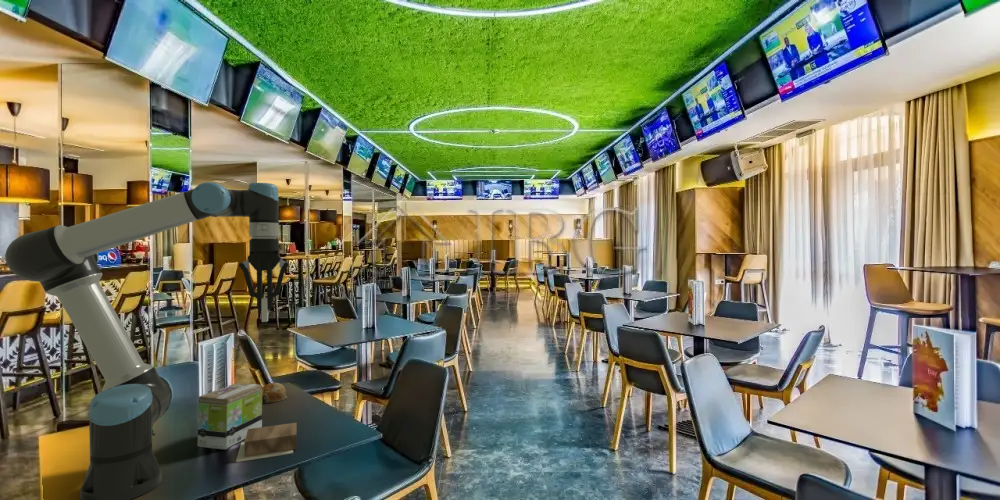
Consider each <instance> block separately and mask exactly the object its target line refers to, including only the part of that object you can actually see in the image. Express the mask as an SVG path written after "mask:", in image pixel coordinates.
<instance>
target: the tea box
mask: <svg viewBox="0 0 1000 500" xmlns="http://www.w3.org/2000/svg"><path fill="white" fill-rule="evenodd" d="M228 386H229V387H227V386H224V387H225V388H224V387H222V389H221V388H219V389H220V390H219V389H217V391H216V390H213V391H211V392H208V393H205V394H202V395H199V396H198V402H197V403H198V404H197V405H198V406H197V407H198V408H197V410H198V411H197V413H198V414H197V447H200V448H207V449H213V450H214V449H215V450H216V449H217V450H227V449H229V448H231V447H232V446H235V444H238V443H240V442H243V441H245V438H246V435H247V431H248V429H252V428H260V427H263V403H262V387H263V384H255V383H253V384H252V383H242V382H235V383H232V384H230V385H228Z"/></svg>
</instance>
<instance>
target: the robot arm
mask: <svg viewBox="0 0 1000 500" xmlns="http://www.w3.org/2000/svg"><path fill="white" fill-rule="evenodd" d="M279 199H280V198H279V188H278V186H277V185H276V184H273V183H270V182H269V183H267V182H251V183H249V185H248V189H230V188H229V189H228V188H227V187H225V186H223V185H222V184H220V183H217V182H211V181H207V182H206V181H205V182H202V183H200V184H198V185H196V187H194V188H192V189H189V190H186V191H183V192H178V193H176V194H172V195H169V196H165V197H163V198H158V199H155V200H152V201H149V202H147V203H142V204H140V205H136V206H133V207H130V208H125V209H122V210H120V211H116V212H113V213H109V214H106V215H104V216H100V217H98V218H94V219H90V220H87V221H83V222H80V223H78V224H74V225H70V226H66V225H64V224H63V225H62V224H59V225H54V226H51V227H48V228H45V229H41V230H40V229H39V230H36V231H32V232H28V233H25V234H22V235H19V236H18V237H16V238H15V239H14V240H12V242H10V243H9V244H8V247H7V248H6V252H5V254H4V259H5V264H6V267H7V268H8V269H9V270H10V272H12V273H13V274H14V275H15V276H17V277H19V278H21V279H23V280H26V281H30V282H31V281H32V282H37V283H38V282H39V283H40V285H41V287H42V289H43V290H44V292H45V293H46V294H47V295H51V296H53V297H56V298H57V299H58V300H59V302H60V303H61V305H62V307H63V309H64V311H65V312H66V315H68V318H69V320H70V321H71V323H72V324H73V326H74V328H75V330H76V331H77V333H78V335H79V336H80V338H81V340H82V342H83V344H84V345H85V347H86V349H87V350H88V352H89V354H90V356H91V358H92V359H93V360H94V363H95V365H96V366H97V368H98V371H100V374H101V375H102V377H103V378H104V381H105V382H104V385H103V387H102V389H101V390H102V391H101V392H99V393H97V394H95V395H94V396H93V397H92V399H90V400H91V401H90V403H89V409H88V413H87V414H88V415H87V416H88V419H89V421H88V423H89V466H88V469H87V471H86V474H85V477H84V479H83V482H82V484H81V487H80V494H79V497H80V498H79V499H80V500H133V499H136V498H138V497H140V496H143V495H144V494H147V493H149V492H150V491H152V490H154V489H155V488H157V487H158V486H159V485H160V483H161V481H162V470H161V467H160V464H159V463H158V460H157V458H156V456H155V453H154V451H153V436H152V425H153V426H154V424H155V423H156V422H157V421H158V420H159V419H160V418H162V416H163V415H165V414H166V412H167V411H168V410H169V409H170V406H171V404H172V402H173V399H174V389H173V385H172V383H171V382H170V381H169V379H168V378H166V377H164V376H162V375H159V373H158V372H157V370H156V368H155V366H154V365H152V364H148V363H146V362H144V361H143V359H142V357H141V356H140V354H139V351H138V349H137V348H136V346H135V345H134V343H133V341H132V339H131V337H130V336H129V333H128V331H127V330H126V328H125V327H124V325H123V322H122V321H121V319H120V317H119V316H118V314H117V311H116V310H115V308H114V306H113V305H112V304H111V301H110V299H109V297H108V296H107V294H106V293H105V291H104V289H103V287H102V285H101V284H100V280H101V279H102V277H103V273H102V270H101V268H100V267H99V265H98V262H99V253H103V252H106V251H109V250H111V249H114V248H118V247H121V246H124V245H126V244H130V243H133V242H136V241H138V240H141V239H144V238H147V237H151V236H154V235H156V234H159V233H163V232H166V231H168V230H172V229H175V228H178V227H181V226H185V225H187V224H190V223H193V222H196V221H199V220H204V219H206V218H209V217H212V218H213V217H214V218H219V217H220V218H221V217H229V218H230V217H235V218H237V217H241V218H242V217H243V218H245V217H248V218H249V219H248V221H249V222H248V224H249V225H248V229H249V230H248V231H249V232H248V235H249V236H248V237H251V238H250V239H249V246H248V247H249V254H248V256H247V259H245V261H243V262H239V264H238V267H239V269H241V270H242V272H243V275H244V280H245V283H246V287H247V290H248V293H249V297H251V298H252V297H253V298H256V309H257V311H261V322H262V323H267V322H268V321H269V310H272V309H273V299H274V298H275V297H277V296H278V295H279V294H280V293H281V292H280V291H281V289H282V288H281V287H282V283H283V280H284V275H285V271H286V270H287V269H288V267H289V265H290V264H289V262H287V261H285V260H283V259H282V256H281V255H280V243H279V242H280V240H279V239H278V237H279V236H280V228H279V227H280V223H279V215H280V214H279V210H280V206H279V205H280V204H279V203H280V200H279ZM249 264H250V265H251V266H252V268H253V269H254V270H255V271H256V291H255V288H254V285H253V281H252V278H251V274H250V270H249V268H250V265H249ZM278 264H279V268H280V270H279V273H278V277H277V281H276V285H275V289H274V291H273V270H275V268H276V266H277V265H278ZM263 271H265V272H266V297H263Z"/></svg>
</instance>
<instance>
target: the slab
mask: <svg viewBox="0 0 1000 500" xmlns="http://www.w3.org/2000/svg"><path fill="white" fill-rule="evenodd" d="M297 428H298V427H297V422H291V423H290V422H289V423H283V424H278V425H277V424H276V425H270V426H269V425H268V426H262V427H260V428H252V429H248V431H247V435H246V438H245V439H244V441H243V442H244V447H245V457H246V456H253V455H259V454H266V453H272V452H279V451H285V450H292V449H293V450H297V449H298V448H297V438H298V437H297V433H298V432H297Z"/></svg>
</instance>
